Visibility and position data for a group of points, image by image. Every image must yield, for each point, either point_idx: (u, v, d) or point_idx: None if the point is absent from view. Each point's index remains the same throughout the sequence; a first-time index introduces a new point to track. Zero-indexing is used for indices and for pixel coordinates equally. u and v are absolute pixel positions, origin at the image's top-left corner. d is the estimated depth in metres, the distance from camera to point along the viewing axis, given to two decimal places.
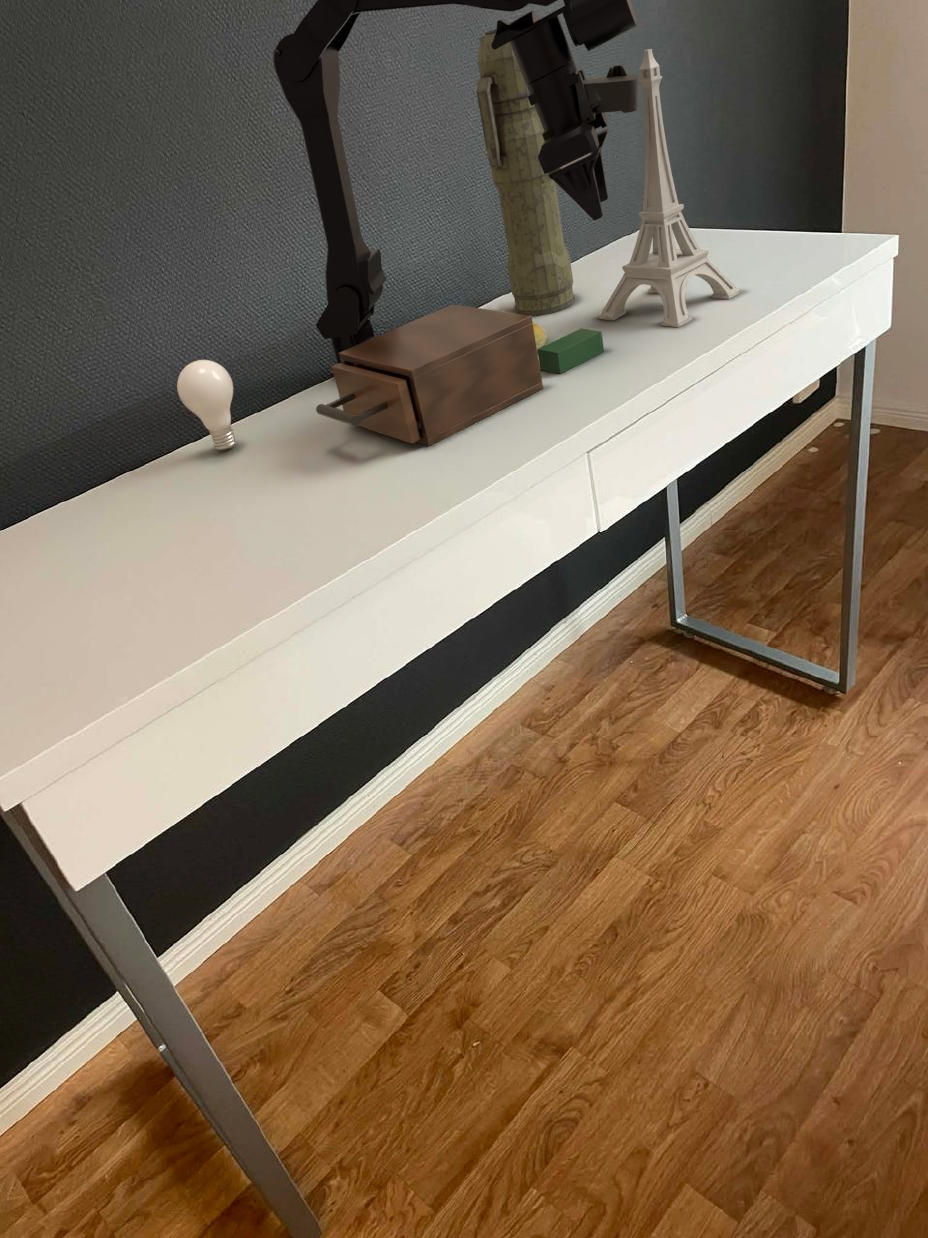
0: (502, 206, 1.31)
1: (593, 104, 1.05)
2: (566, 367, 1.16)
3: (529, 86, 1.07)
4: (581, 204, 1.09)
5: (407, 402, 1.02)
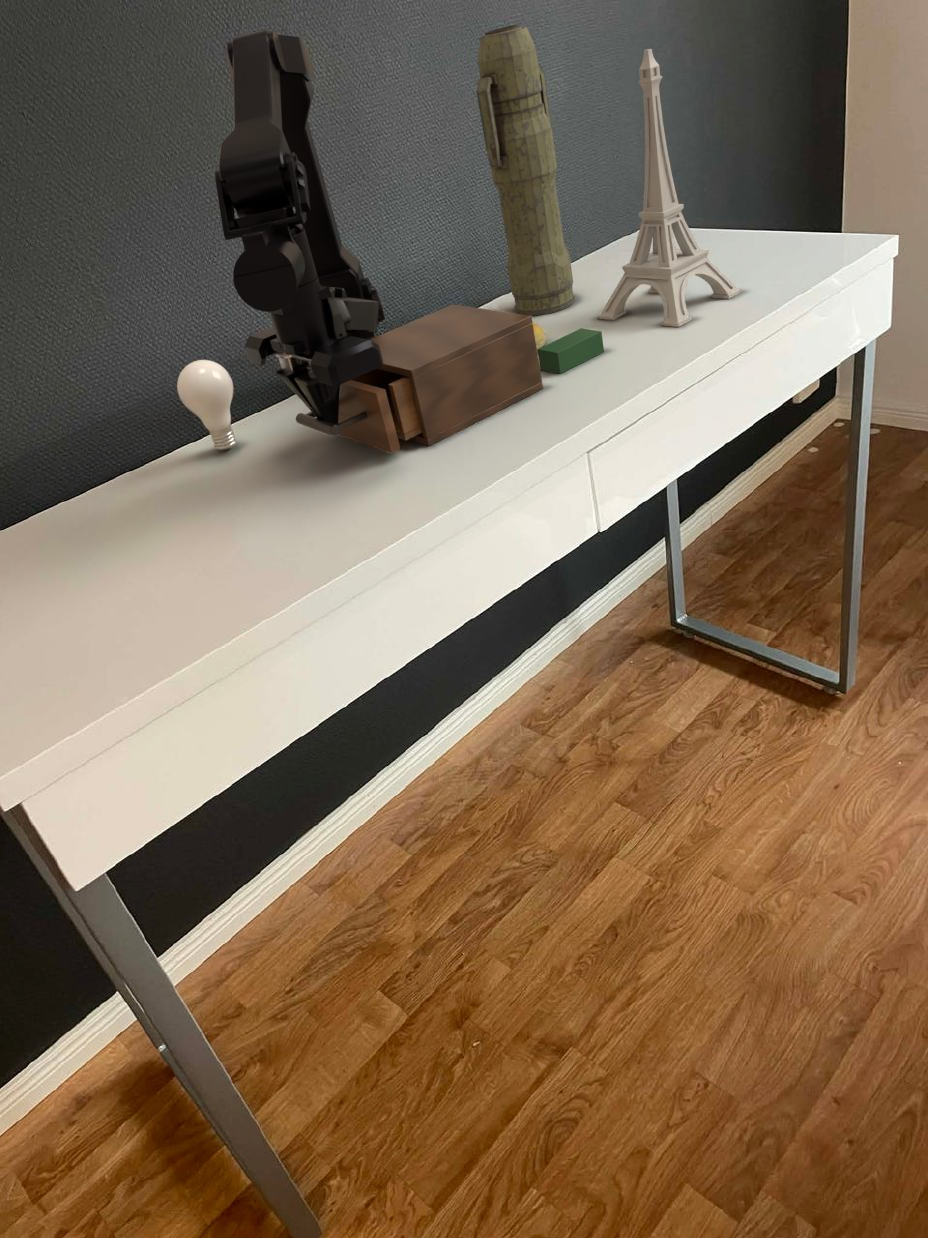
0: (502, 206, 1.31)
1: (345, 320, 0.99)
2: (566, 367, 1.16)
3: None
4: (323, 413, 1.02)
5: (387, 411, 1.01)
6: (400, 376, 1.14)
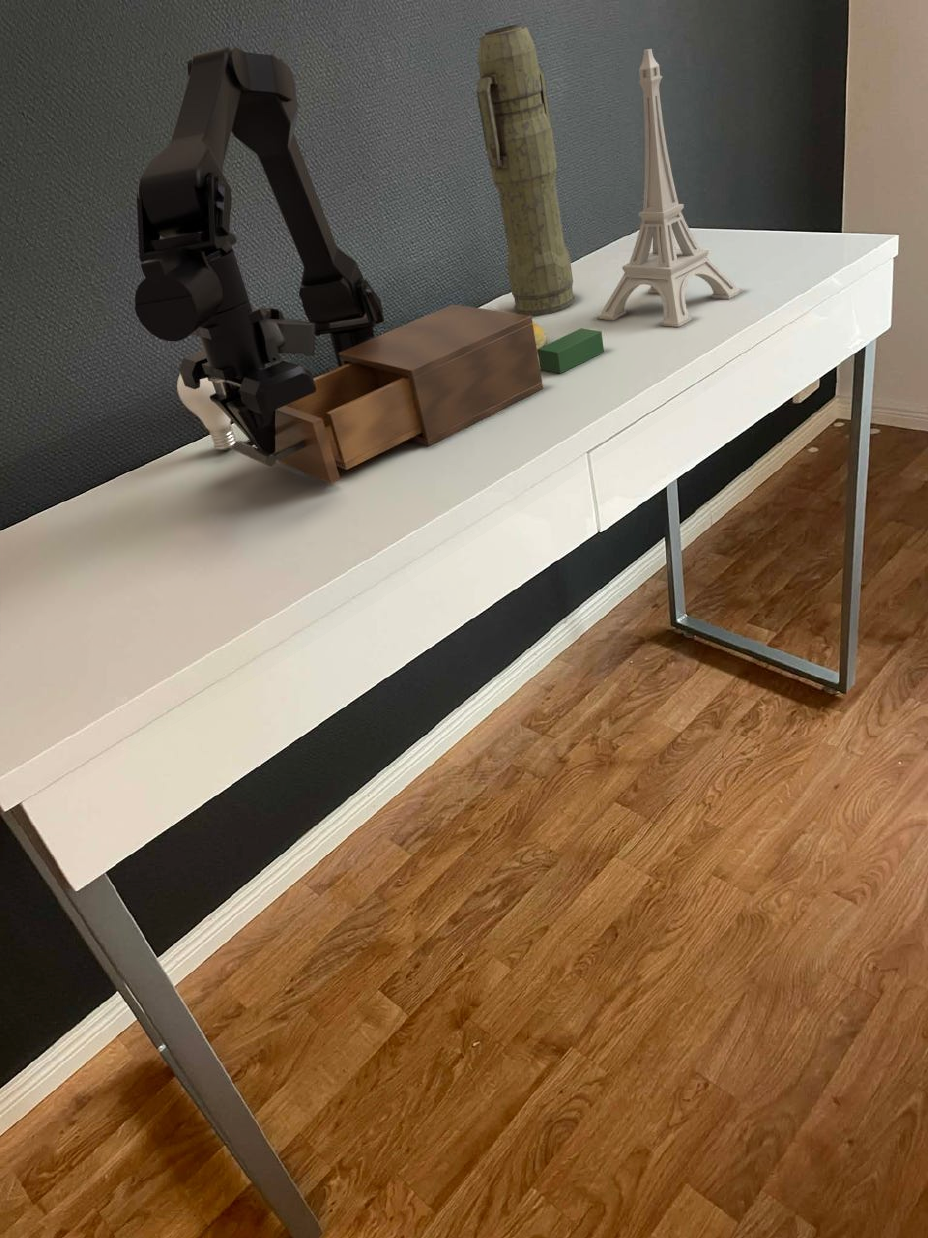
0: (502, 206, 1.31)
1: (279, 344, 0.95)
2: (566, 367, 1.16)
3: None
4: (258, 439, 0.99)
5: (325, 441, 0.97)
6: (346, 401, 1.11)
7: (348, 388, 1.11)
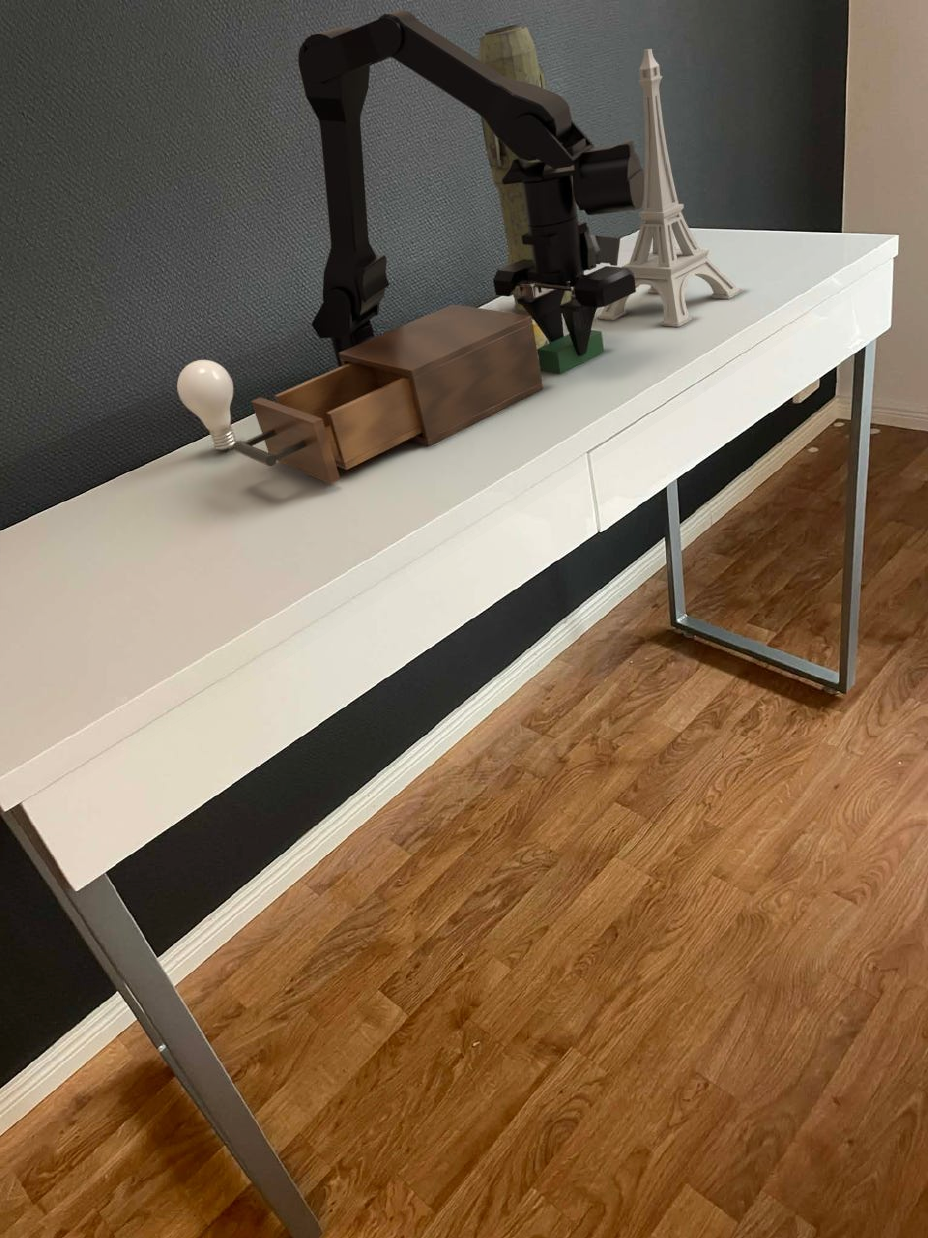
0: (502, 206, 1.31)
1: (596, 253, 1.11)
2: (566, 367, 1.16)
3: (546, 228, 1.07)
4: (578, 339, 1.14)
5: (325, 441, 0.97)
6: (346, 401, 1.11)
7: (348, 388, 1.11)
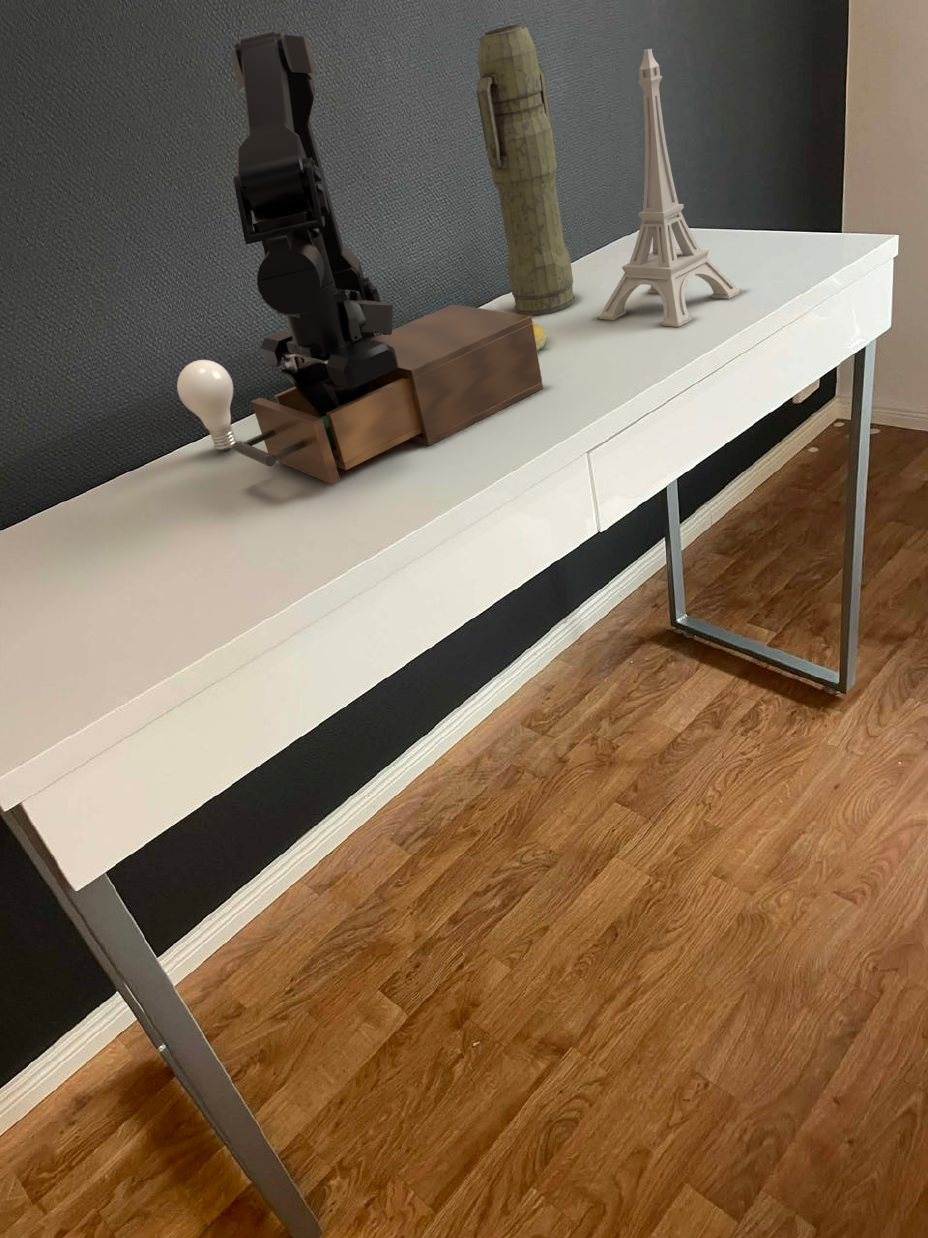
0: (502, 206, 1.31)
1: (360, 323, 1.00)
2: None
3: None
4: None
5: (324, 441, 0.97)
6: None
7: None
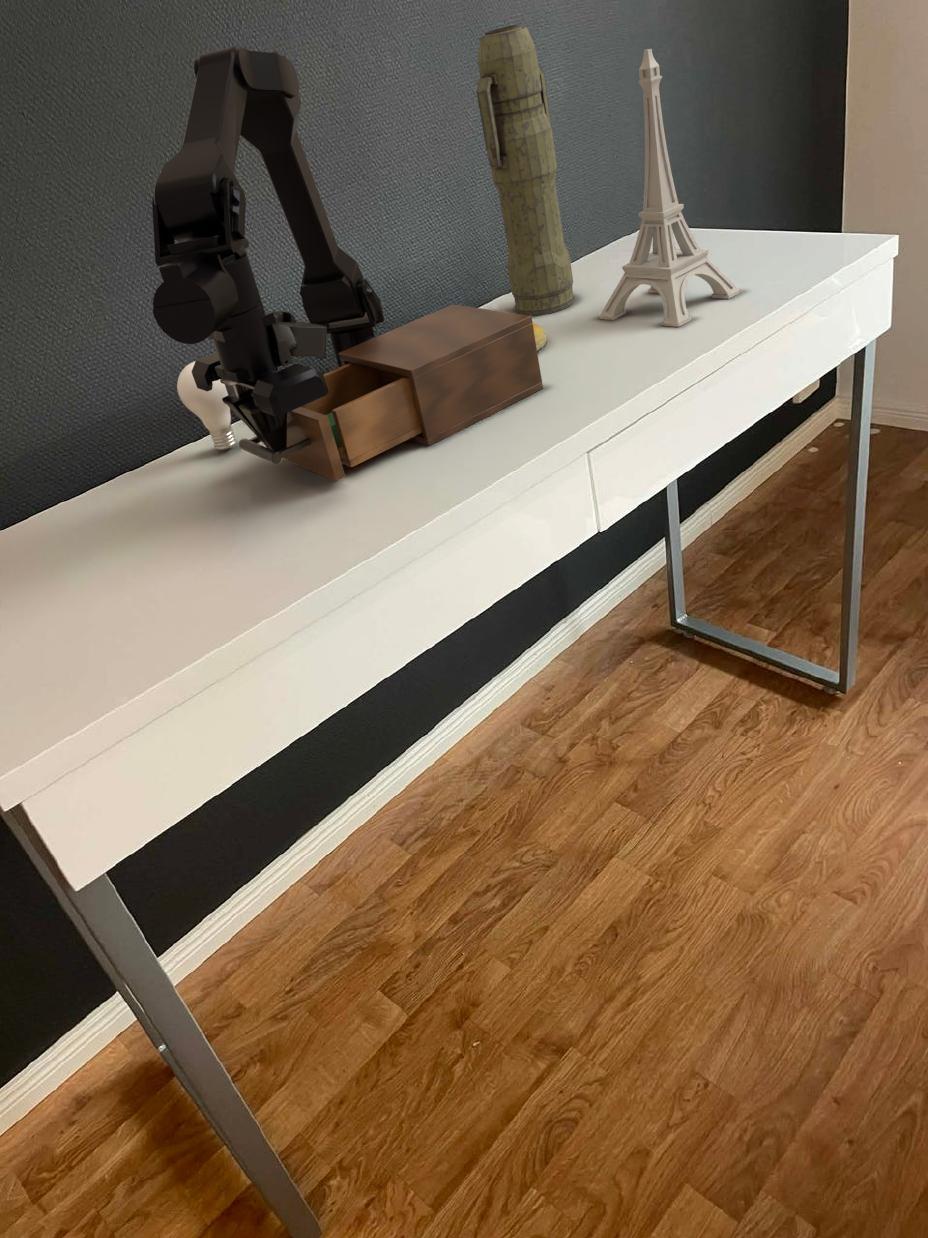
0: (502, 206, 1.31)
1: (291, 347, 0.96)
2: None
3: None
4: (270, 441, 1.00)
5: (330, 438, 0.98)
6: (350, 399, 1.11)
7: (353, 386, 1.11)
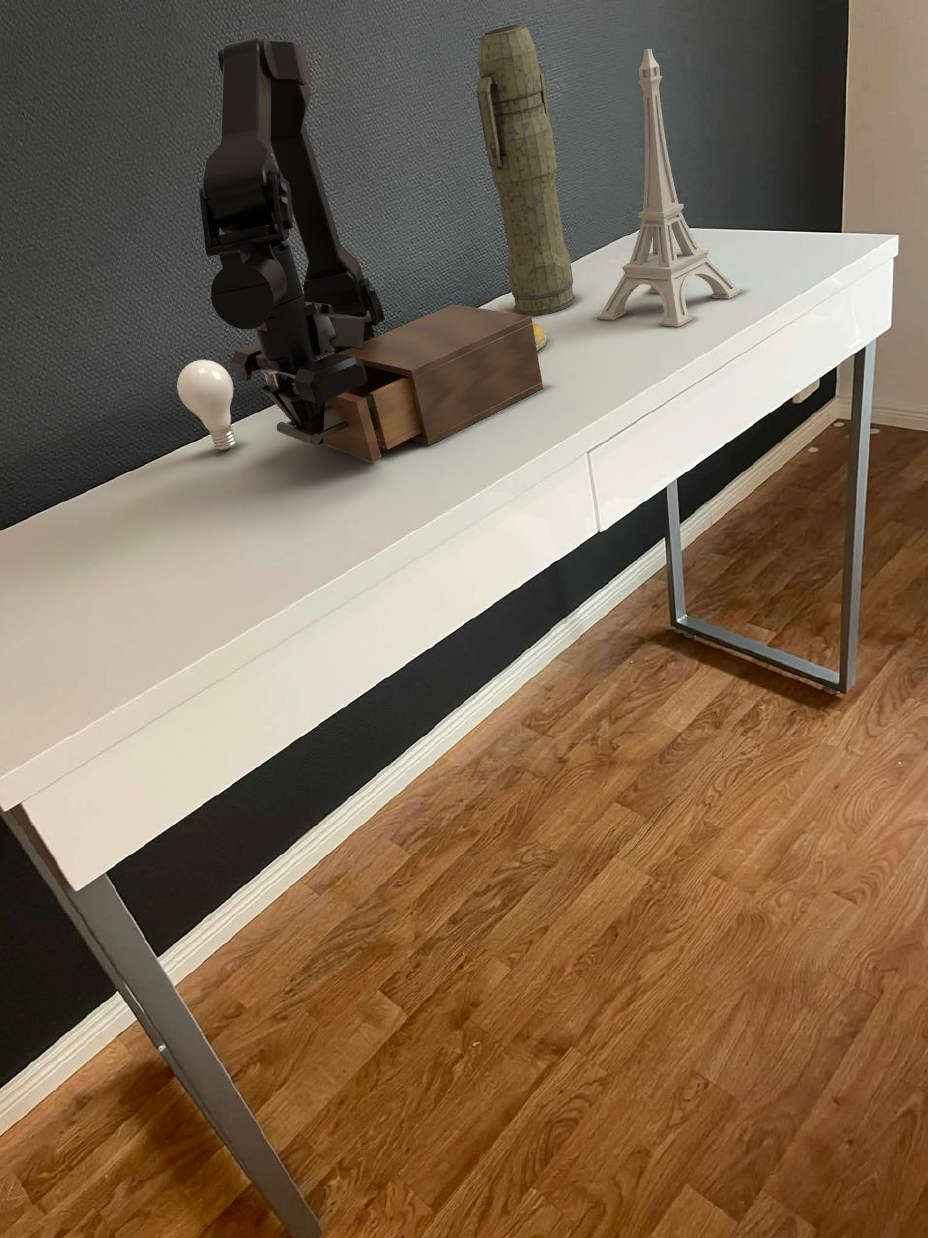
0: (502, 206, 1.31)
1: (330, 337, 0.98)
2: (376, 426, 1.06)
3: None
4: (308, 429, 1.02)
5: (368, 420, 1.00)
6: (383, 384, 1.13)
7: (385, 371, 1.13)
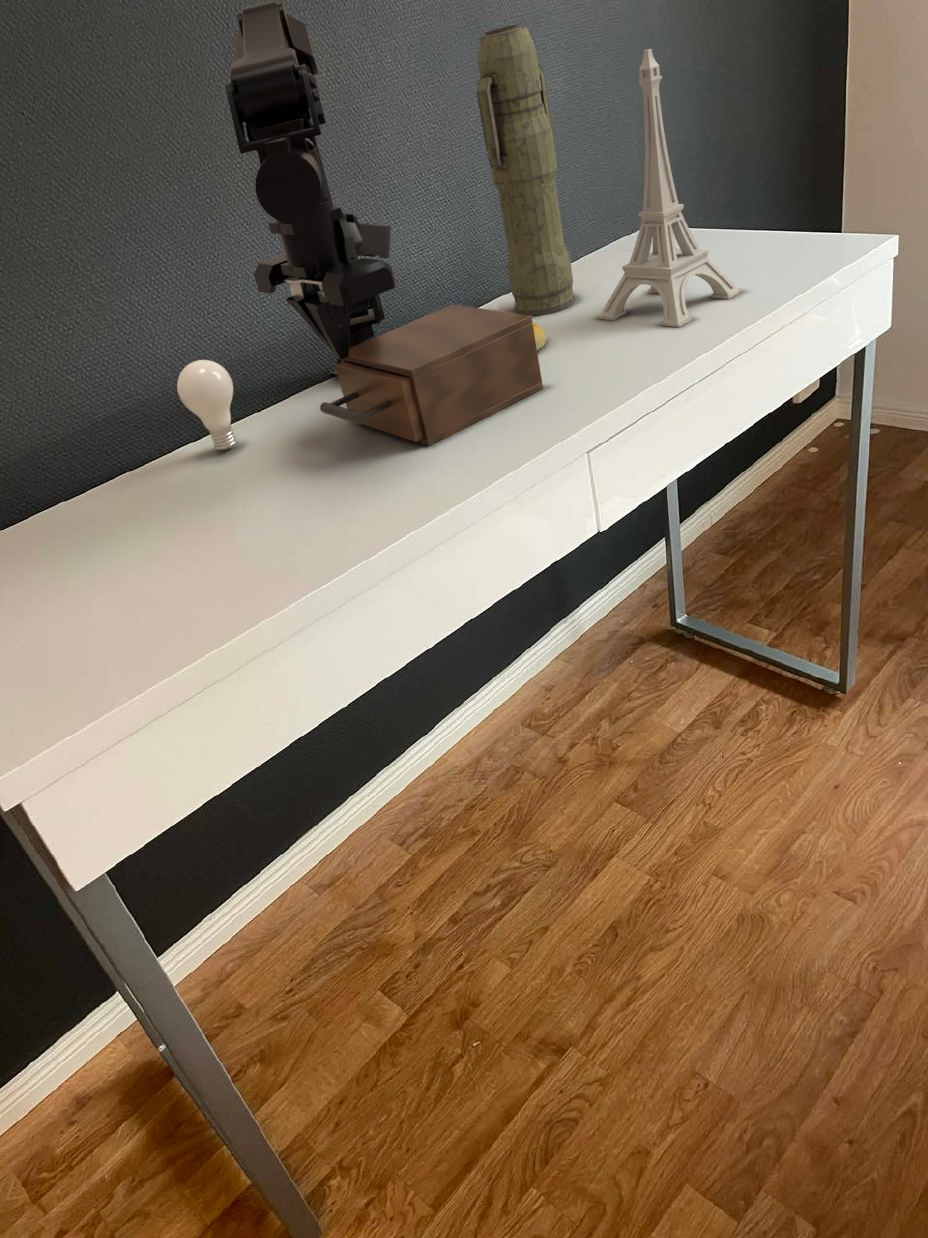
0: (502, 206, 1.31)
1: (357, 244, 0.97)
2: None
3: None
4: (333, 341, 1.00)
5: (411, 400, 1.02)
6: None
7: None
